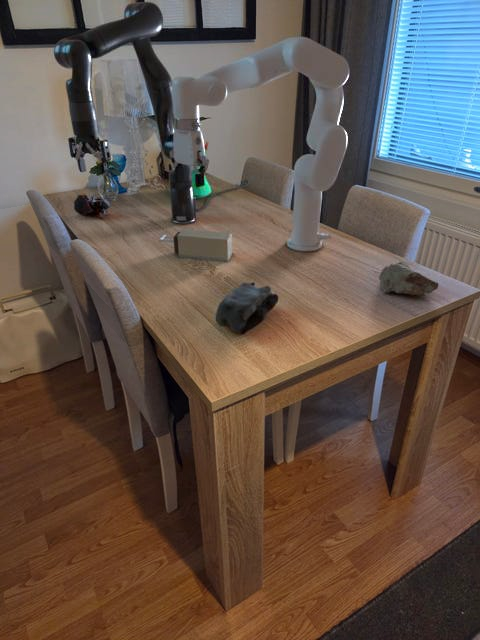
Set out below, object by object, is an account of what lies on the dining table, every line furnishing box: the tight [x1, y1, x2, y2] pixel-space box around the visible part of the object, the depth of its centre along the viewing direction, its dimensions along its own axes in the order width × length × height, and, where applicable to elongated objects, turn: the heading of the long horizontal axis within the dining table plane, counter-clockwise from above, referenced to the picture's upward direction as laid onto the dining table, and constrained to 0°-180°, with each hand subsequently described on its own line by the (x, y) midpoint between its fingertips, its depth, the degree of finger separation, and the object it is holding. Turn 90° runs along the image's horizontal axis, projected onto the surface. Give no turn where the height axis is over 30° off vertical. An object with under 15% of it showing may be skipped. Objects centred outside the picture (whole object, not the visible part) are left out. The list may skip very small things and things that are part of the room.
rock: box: [215, 281, 279, 335], centre depth 115 cm, size 18×11×8 cm, turn 152°
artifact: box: [378, 261, 439, 296], centre depth 132 cm, size 18×7×15 cm
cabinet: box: [177, 228, 233, 262], centre depth 153 cm, size 18×6×8 cm, turn 77°
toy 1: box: [73, 194, 111, 220], centre depth 187 cm, size 12×9×15 cm
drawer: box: [157, 231, 181, 254], centre depth 154 cm, size 22×5×6 cm, turn 77°
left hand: (93, 173), depth 142 cm, fingers open, 8 cm apart
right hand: (189, 183), depth 140 cm, fingers open, 9 cm apart
